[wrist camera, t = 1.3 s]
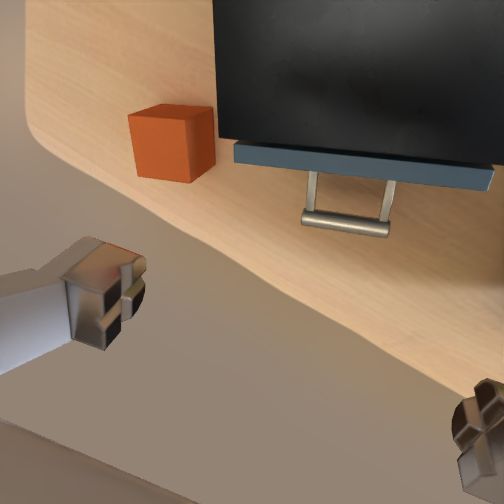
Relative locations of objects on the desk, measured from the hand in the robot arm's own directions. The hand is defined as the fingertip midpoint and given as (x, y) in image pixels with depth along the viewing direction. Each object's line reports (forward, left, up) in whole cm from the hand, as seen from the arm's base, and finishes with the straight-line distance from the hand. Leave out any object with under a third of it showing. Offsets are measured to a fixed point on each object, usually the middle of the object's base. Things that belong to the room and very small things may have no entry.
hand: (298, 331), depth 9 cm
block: (+15, +2, -24) cm, 28 cm away
